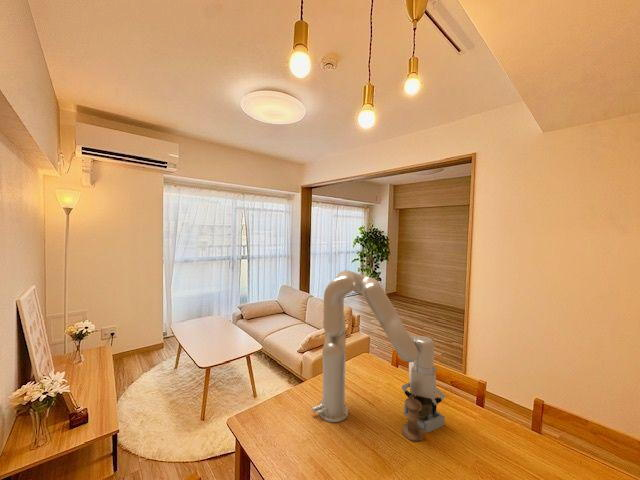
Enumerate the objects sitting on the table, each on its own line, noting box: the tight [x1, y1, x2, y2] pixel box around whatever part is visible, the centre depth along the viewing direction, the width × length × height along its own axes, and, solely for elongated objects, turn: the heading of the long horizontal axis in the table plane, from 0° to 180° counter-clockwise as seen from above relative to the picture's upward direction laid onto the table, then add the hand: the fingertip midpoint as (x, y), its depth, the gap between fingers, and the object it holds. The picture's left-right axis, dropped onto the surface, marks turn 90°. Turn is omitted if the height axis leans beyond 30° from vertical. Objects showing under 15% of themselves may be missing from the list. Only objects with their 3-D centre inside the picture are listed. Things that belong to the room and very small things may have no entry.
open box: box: [403, 404, 446, 434], centre depth 106 cm, size 10×12×4 cm
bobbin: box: [401, 397, 424, 443], centre depth 98 cm, size 8×8×12 cm
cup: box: [413, 395, 433, 420], centre depth 106 cm, size 8×7×8 cm
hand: (422, 409), depth 106 cm, fingers open, 7 cm apart
